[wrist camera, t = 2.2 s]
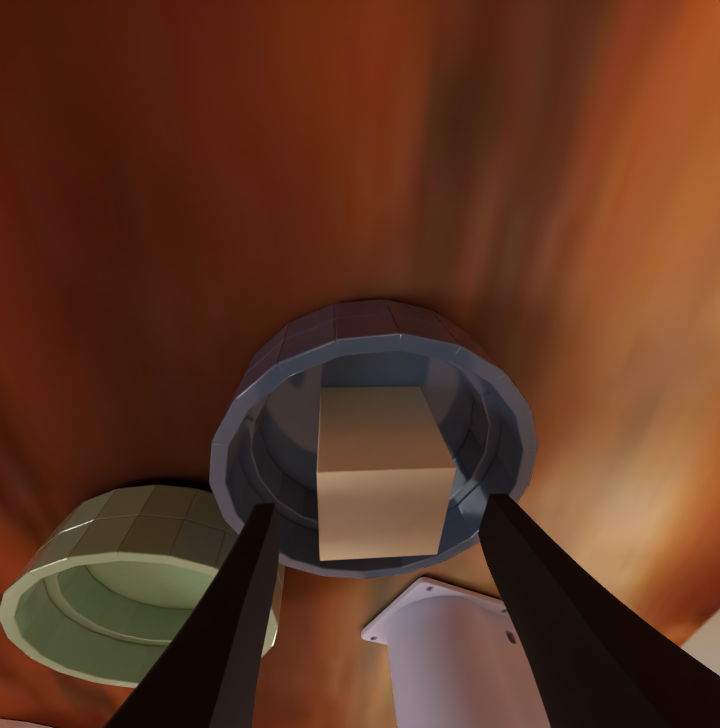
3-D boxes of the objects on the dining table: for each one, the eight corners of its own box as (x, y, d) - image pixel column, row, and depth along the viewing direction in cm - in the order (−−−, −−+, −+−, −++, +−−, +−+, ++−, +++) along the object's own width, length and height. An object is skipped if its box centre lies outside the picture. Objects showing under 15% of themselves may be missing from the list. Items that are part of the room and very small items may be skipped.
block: (419, 385, 15) (457, 467, 10) (409, 459, 17) (437, 554, 12) (320, 386, 15) (316, 472, 10) (322, 462, 17) (319, 561, 12)
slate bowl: (543, 378, 16) (604, 432, 12) (398, 529, 20) (412, 601, 17) (316, 235, 12) (310, 254, 9) (198, 459, 16) (162, 532, 13)
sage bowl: (322, 521, 19) (320, 595, 16) (239, 624, 24) (222, 700, 20) (93, 444, 16) (23, 518, 12) (44, 583, 20) (-18, 668, 16)
